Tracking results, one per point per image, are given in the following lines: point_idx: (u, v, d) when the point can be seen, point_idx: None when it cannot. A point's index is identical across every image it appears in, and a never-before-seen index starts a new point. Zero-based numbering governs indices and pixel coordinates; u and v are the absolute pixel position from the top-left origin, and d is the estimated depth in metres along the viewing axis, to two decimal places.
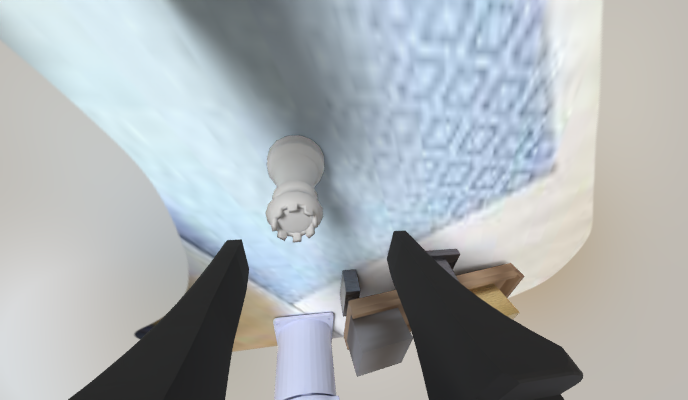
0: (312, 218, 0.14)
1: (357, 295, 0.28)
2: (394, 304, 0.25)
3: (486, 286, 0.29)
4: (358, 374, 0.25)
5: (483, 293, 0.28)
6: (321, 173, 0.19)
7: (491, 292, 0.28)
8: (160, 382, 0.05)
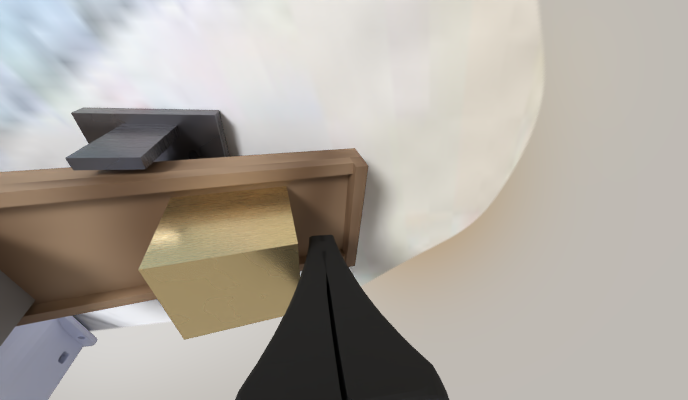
0: None
1: None
2: None
3: (260, 193, 0.12)
4: None
5: (235, 205, 0.11)
6: None
7: (259, 204, 0.11)
8: (325, 360, 0.06)
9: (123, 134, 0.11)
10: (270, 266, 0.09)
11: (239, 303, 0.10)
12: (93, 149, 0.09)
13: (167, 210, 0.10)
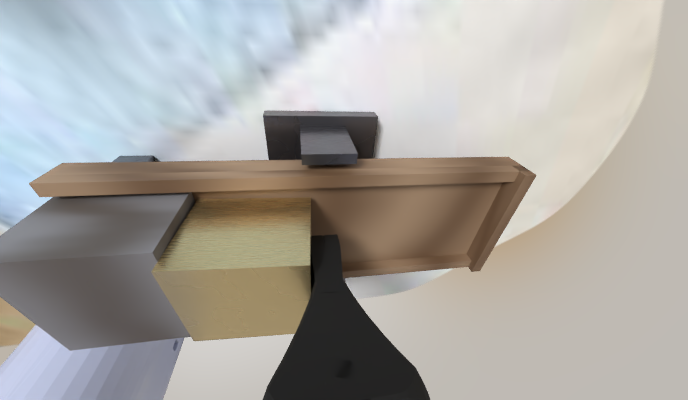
0: None
1: None
2: (162, 179, 0.10)
3: (283, 203, 0.11)
4: (66, 344, 0.10)
5: (256, 213, 0.10)
6: None
7: (280, 215, 0.10)
8: (349, 357, 0.06)
9: (314, 134, 0.12)
10: (279, 284, 0.09)
11: (247, 315, 0.10)
12: (311, 147, 0.11)
13: (191, 211, 0.10)
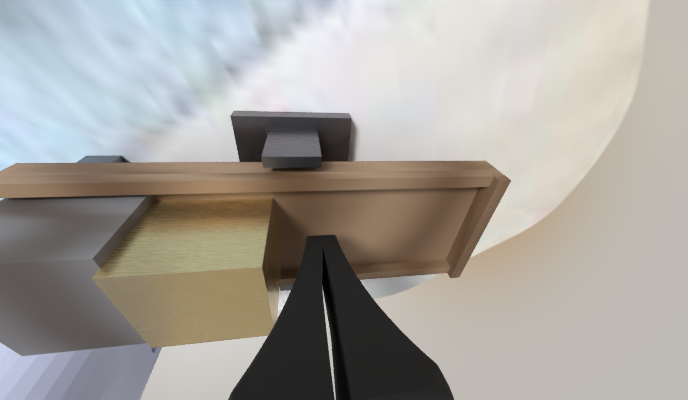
0: None
1: None
2: (115, 181, 0.09)
3: (243, 204, 0.11)
4: (17, 350, 0.10)
5: (213, 215, 0.10)
6: None
7: (238, 216, 0.10)
8: (319, 361, 0.06)
9: (282, 135, 0.12)
10: (233, 287, 0.09)
11: (204, 319, 0.10)
12: (274, 149, 0.11)
13: (145, 214, 0.10)
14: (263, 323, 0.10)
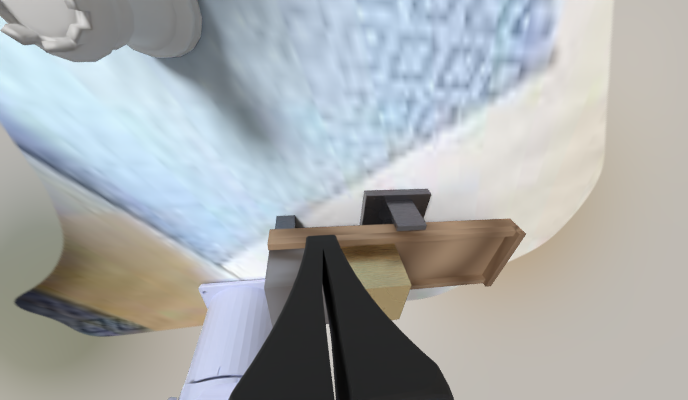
0: None
1: None
2: None
3: (382, 248, 0.20)
4: (273, 326, 0.19)
5: (371, 256, 0.19)
6: (185, 16, 0.12)
7: (383, 256, 0.19)
8: (319, 361, 0.06)
9: (397, 208, 0.21)
10: (394, 294, 0.18)
11: None
12: (400, 220, 0.20)
13: None
14: (396, 312, 0.19)
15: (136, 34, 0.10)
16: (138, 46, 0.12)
